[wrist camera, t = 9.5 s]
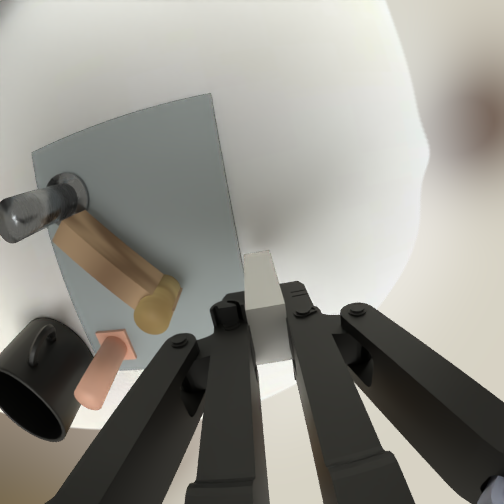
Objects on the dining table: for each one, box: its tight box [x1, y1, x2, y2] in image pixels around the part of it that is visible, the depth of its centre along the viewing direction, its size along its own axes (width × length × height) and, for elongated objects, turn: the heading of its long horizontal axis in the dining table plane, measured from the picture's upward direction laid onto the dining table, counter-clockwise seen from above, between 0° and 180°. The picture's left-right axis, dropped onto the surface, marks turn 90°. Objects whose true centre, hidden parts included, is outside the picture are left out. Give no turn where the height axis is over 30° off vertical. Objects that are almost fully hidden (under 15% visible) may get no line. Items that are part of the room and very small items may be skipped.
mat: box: [32, 93, 245, 370], centre depth 22 cm, size 22×16×1 cm
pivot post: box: [0, 172, 89, 243], centre depth 17 cm, size 4×4×8 cm
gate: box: [52, 210, 183, 335], centre depth 19 cm, size 10×2×4 cm, turn 49°
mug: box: [0, 318, 93, 442], centre depth 21 cm, size 9×12×9 cm
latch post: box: [74, 329, 137, 410], centre depth 21 cm, size 3×3×8 cm
